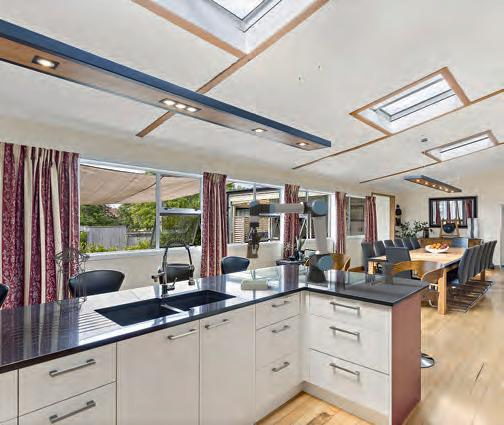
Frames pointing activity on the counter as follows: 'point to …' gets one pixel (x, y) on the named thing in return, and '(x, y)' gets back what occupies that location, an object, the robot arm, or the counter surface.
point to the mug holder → (254, 285)
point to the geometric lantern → (70, 272)
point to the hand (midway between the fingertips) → (254, 253)
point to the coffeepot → (386, 272)
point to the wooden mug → (249, 248)
